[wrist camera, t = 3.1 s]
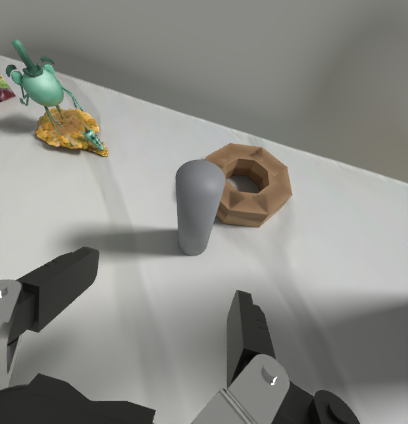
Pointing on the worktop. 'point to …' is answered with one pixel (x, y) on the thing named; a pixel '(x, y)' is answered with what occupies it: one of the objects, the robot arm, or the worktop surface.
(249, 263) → the worktop surface
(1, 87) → the juice carton
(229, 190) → the brown wooden ring
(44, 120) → the green toy figurine
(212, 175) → the dowel
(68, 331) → the worktop surface
